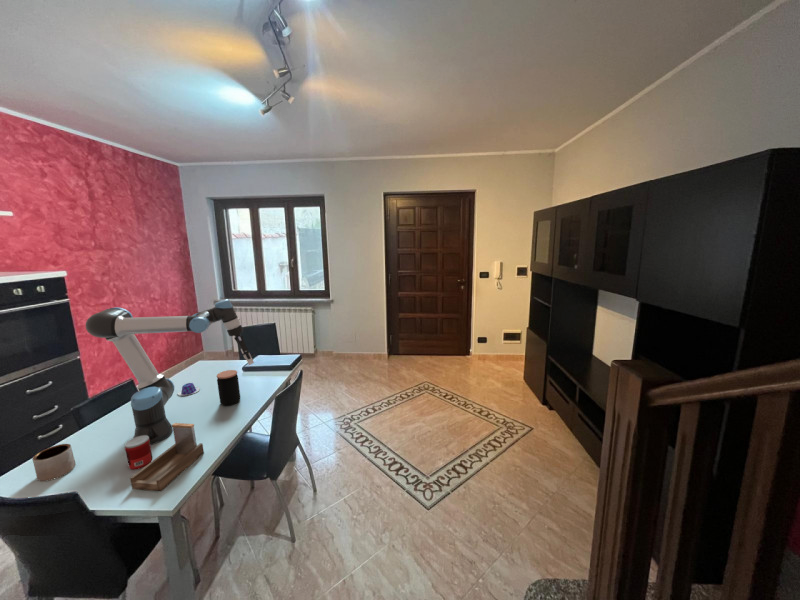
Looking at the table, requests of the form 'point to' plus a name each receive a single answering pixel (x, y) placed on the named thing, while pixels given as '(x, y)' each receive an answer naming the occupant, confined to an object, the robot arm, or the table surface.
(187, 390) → the pudding
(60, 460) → the planter
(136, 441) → the canned food
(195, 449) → the tray
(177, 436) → the pusher
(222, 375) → the coffee jar
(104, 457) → the table surface
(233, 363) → the table surface
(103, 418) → the table surface
